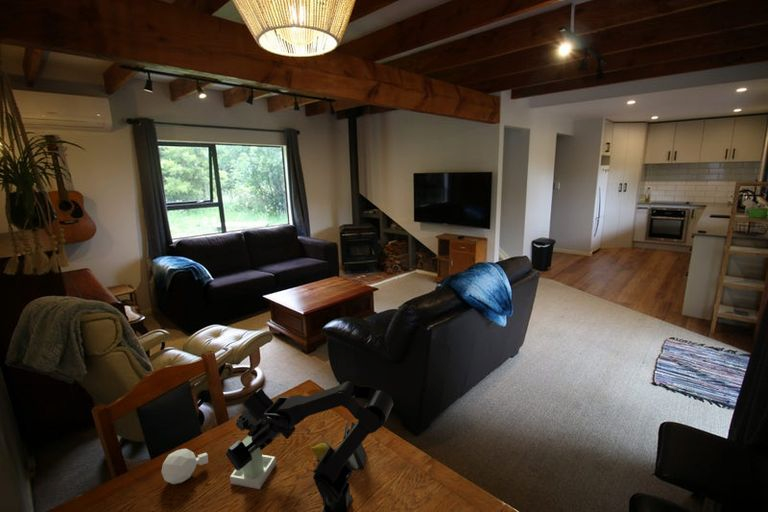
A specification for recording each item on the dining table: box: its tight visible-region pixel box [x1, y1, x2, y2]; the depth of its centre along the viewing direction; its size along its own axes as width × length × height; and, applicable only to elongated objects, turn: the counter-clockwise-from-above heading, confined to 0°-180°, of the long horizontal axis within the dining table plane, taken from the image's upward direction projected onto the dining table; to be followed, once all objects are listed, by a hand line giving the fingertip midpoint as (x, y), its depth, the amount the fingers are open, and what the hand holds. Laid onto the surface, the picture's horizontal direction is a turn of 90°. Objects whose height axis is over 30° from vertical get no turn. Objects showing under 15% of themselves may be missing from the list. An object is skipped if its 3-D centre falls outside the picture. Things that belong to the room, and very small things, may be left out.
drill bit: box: [309, 441, 331, 461], centre depth 113 cm, size 5×5×10 cm
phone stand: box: [342, 421, 367, 471], centre depth 111 cm, size 9×6×12 cm, turn 88°
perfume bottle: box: [161, 448, 209, 485], centre depth 108 cm, size 9×9×12 cm
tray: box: [229, 454, 277, 490], centre depth 109 cm, size 9×9×3 cm
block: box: [242, 435, 264, 479], centre depth 108 cm, size 4×4×11 cm
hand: (247, 447), depth 108 cm, fingers open, 9 cm apart
